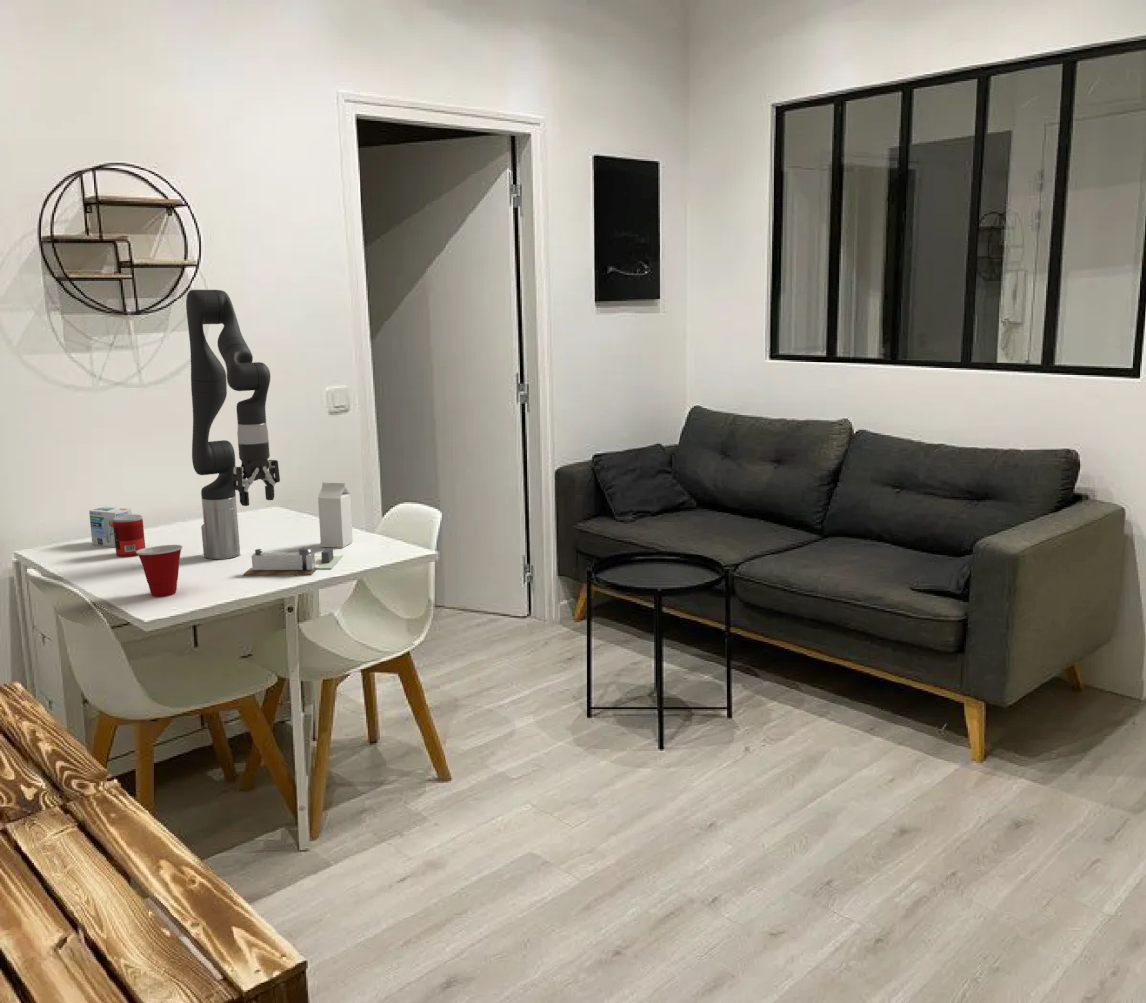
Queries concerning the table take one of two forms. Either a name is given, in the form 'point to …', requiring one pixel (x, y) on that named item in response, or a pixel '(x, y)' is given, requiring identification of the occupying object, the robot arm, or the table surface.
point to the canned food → (128, 535)
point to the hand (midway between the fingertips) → (257, 502)
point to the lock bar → (284, 560)
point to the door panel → (326, 565)
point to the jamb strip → (278, 572)
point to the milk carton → (335, 515)
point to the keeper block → (327, 555)
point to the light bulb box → (105, 524)
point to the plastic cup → (161, 568)
